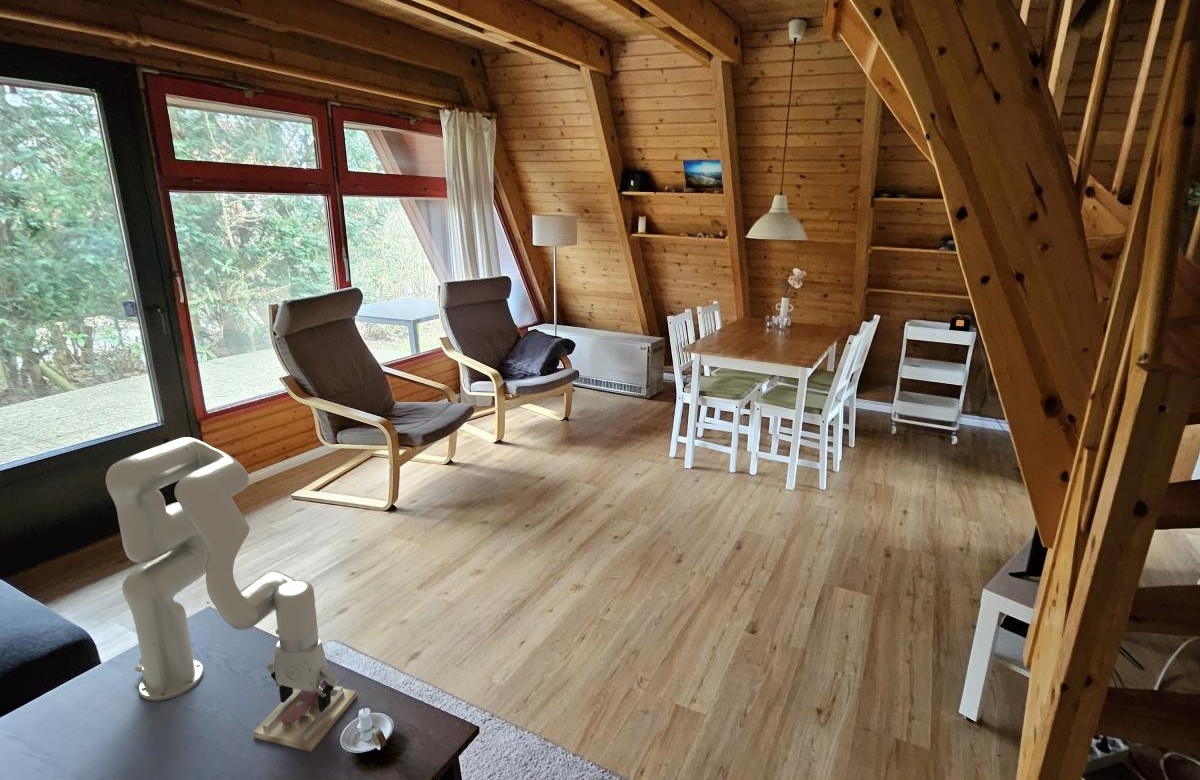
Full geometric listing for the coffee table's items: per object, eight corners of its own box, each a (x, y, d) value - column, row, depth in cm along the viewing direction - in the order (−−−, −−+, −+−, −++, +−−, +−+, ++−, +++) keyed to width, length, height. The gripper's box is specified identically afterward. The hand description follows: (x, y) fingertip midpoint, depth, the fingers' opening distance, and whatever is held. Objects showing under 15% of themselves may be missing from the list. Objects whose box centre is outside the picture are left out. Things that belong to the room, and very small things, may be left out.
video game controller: (294, 734, 135) (304, 713, 132) (277, 722, 135) (287, 701, 132) (323, 700, 144) (333, 681, 141) (307, 690, 144) (317, 670, 142)
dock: (253, 737, 133) (252, 727, 133) (304, 684, 148) (303, 675, 148) (311, 751, 130) (310, 741, 130) (356, 696, 145) (355, 687, 145)
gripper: (251, 640, 132) (260, 706, 137) (323, 656, 128) (329, 723, 133) (276, 619, 139) (284, 682, 144) (345, 633, 135) (350, 698, 140)
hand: (306, 702), depth 138 cm, fingers open, 9 cm apart
